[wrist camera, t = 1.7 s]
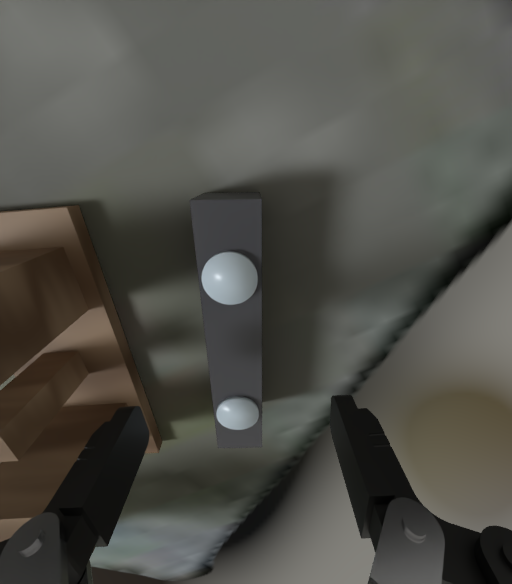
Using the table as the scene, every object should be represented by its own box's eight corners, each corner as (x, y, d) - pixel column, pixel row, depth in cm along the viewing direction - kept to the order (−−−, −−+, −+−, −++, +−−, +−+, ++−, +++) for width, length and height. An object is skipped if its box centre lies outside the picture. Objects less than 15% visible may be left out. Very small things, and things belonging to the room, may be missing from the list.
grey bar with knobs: (205, 192, 14) (187, 200, 10) (259, 191, 14) (261, 199, 10) (223, 400, 21) (217, 452, 17) (260, 400, 21) (262, 451, 17)
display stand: (-62, 216, 14) (-379, 263, 7) (78, 205, 14) (-101, 240, 7) (73, 446, 23) (-9, 574, 16) (162, 441, 23) (120, 567, 16)
